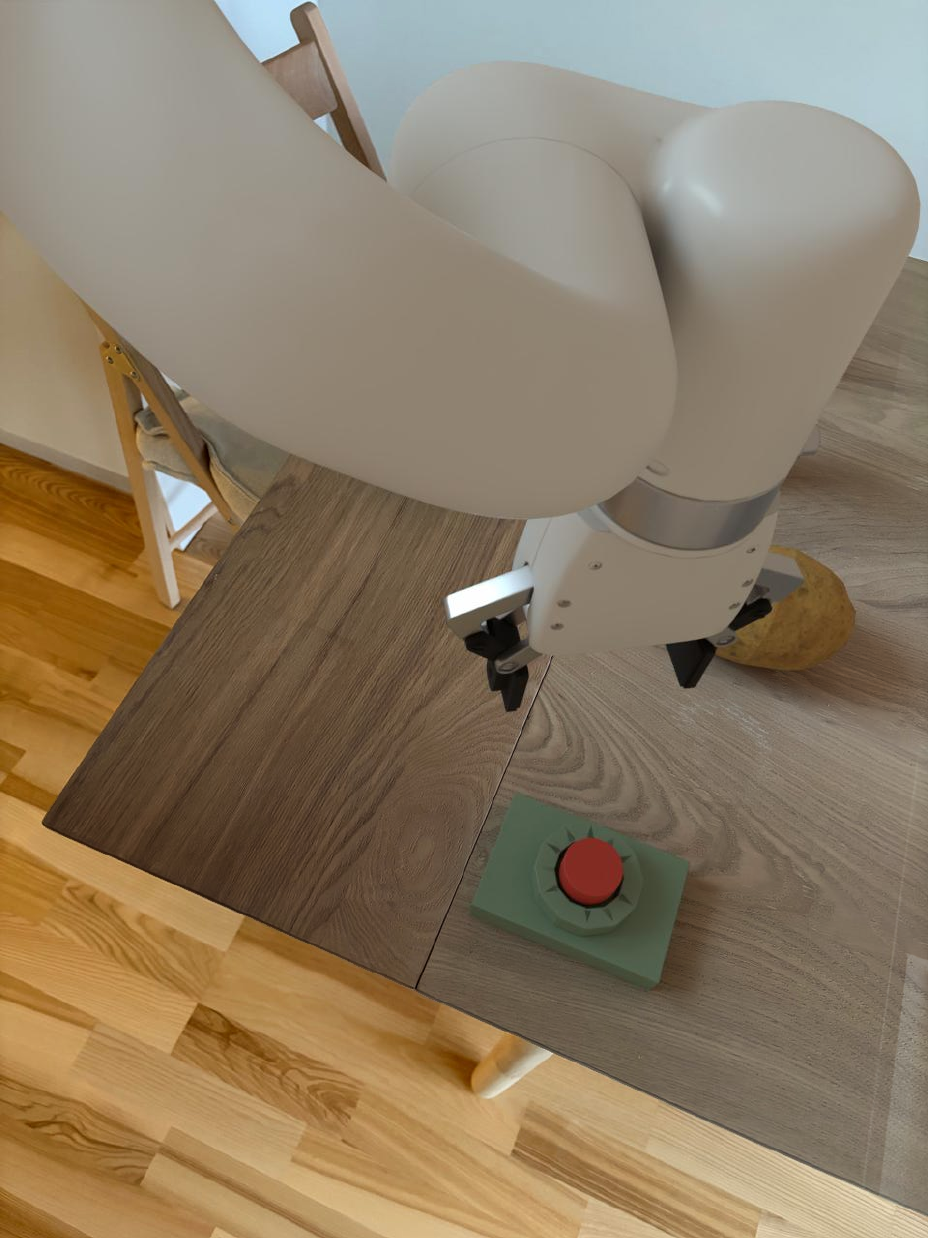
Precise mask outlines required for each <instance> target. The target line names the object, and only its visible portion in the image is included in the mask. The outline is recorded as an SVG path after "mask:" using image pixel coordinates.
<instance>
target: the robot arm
mask: <svg viewBox="0 0 928 1238" xmlns="http://www.w3.org/2000/svg"><path fill="white" fill-rule="evenodd" d="M386 174H387V175H386V180H384V179H383V178H382V177H380V176H379V175H378V174H376V173H375V172H374V171H372V170H371V169H370V168H369V167H368V166H366V165H364V164H363V163H361V161H360V160H358V159H357V158H356V157H355V156H354V155H352V153H350V152H349V151H348V150H347V149H345V147H343V146H342V145H341V144H340V143H339V142H338V141H337V140H336V139H334V138H333V137H332V136H331V135H330V134H329V133H328V132H326V130H325V129H323V128H322V127H321V126H320V125H319V124H318V123H317V122H316V121H315V120H314V119H312V117H311V116H310V115H309V114H308V113H307V112H306V111H305V109H303V108H302V107H301V106H300V105H299V103H297V102H296V101H295V99H293V97H292V96H291V95H290V94H289V93H288V92H287V91H286V90H285V89H284V88H283V87H282V86H281V85H280V84H279V82H277V80H275V78H274V77H273V76H272V75H271V74H270V72H269V71H268V70H267V69H266V67H264V65H263V64H262V62H260V60H259V59H258V58H257V57H256V55H255V54H254V52H253V51H252V50H251V49H250V48H249V47H248V45H247V44H246V43H245V41H244V40H243V39H242V38H241V37H240V35H239V34H238V32H237V31H236V30H235V28H234V27H233V25H232V23H231V22H230V21H229V19H228V18H227V17H226V15H225V13H224V12H223V11H222V9H221V8H220V6H219V4H218V3H217V2H216V1H215V0H0V212H1V213H2V214H3V216H5V217H6V218H7V220H8V221H9V223H10V224H11V225H12V226H13V227H14V229H16V231H17V232H18V233H19V234H20V235H21V237H22V238H23V239H24V240H25V241H26V243H27V244H28V245H29V246H30V247H31V248H32V250H33V251H34V252H35V253H36V254H37V255H38V257H40V258H41V259H42V261H43V262H44V263H45V264H46V265H47V266H48V267H49V268H50V269H51V270H52V271H53V273H54V274H55V275H56V276H57V277H58V278H59V279H60V280H61V281H62V282H63V283H64V284H65V285H66V286H67V287H68V288H70V290H71V291H73V292H74V293H75V294H76V295H77V296H78V297H79V298H80V299H81V300H82V301H83V302H84V303H85V304H86V305H87V306H88V307H89V308H91V309H92V310H93V311H94V312H95V314H96V315H98V316H99V317H100V318H101V319H102V320H103V321H104V322H106V323H107V324H108V325H109V326H110V327H111V328H113V330H114V331H116V332H117V333H118V335H120V336H121V337H122V338H123V339H124V340H125V341H127V343H129V345H130V346H131V347H133V348H134V349H135V350H136V351H137V352H138V353H139V354H140V355H142V357H144V358H145V359H146V360H147V361H148V362H149V363H150V364H151V365H152V366H154V367H155V368H156V369H157V370H158V371H160V372H161V373H162V374H163V375H164V376H166V377H167V378H168V379H169V380H171V381H172V382H173V383H174V384H175V385H176V386H178V387H179V388H180V389H182V390H183V391H184V392H185V393H186V394H188V395H189V396H191V398H194V399H195V400H196V401H198V402H199V403H200V404H201V405H204V407H206V408H207V409H209V410H210V411H211V412H213V413H214V414H216V415H217V416H218V417H220V418H222V420H225V421H227V422H229V423H230V424H232V425H234V426H235V427H237V428H239V429H240V430H242V431H244V433H247V434H248V435H250V436H251V437H254V438H256V439H258V440H260V441H262V442H264V443H267V444H268V445H270V446H273V447H275V448H277V449H279V450H281V451H284V452H285V453H287V454H291V455H294V456H295V457H297V458H298V457H299V458H301V459H304V460H306V461H308V462H310V463H313V464H316V465H318V466H321V467H324V468H327V469H329V470H332V471H334V472H337V473H340V474H343V475H345V476H348V477H350V478H353V479H356V480H358V481H361V482H363V483H367V484H370V485H372V486H375V487H376V488H379V489H383V490H385V491H387V492H391V493H394V494H397V495H400V496H403V497H407V498H409V499H412V500H416V501H418V502H421V503H424V504H429V505H432V506H435V507H440V508H443V509H446V510H450V511H454V512H458V513H463V514H468V515H474V516H479V517H486V518H491V519H501V520H502V519H503V520H504V519H505V520H525V521H526V522H525V525H524V527H523V529H522V533H521V536H520V539H519V542H518V545H517V548H516V551H515V555H514V558H513V562H512V566H511V570H509V571H508V572H505V573H503V574H500V575H497V576H494V577H492V578H490V579H488V580H485V581H481V582H480V583H477V584H474V585H472V586H469V587H467V588H464V589H461V590H459V591H456V592H454V593H451V594H449V595H447V596H445V597H443V599H442V603H441V604H442V608H443V612H444V616H445V622H446V625H447V627H448V628H449V629H450V630H451V631H452V633H454V635H455V636H456V637H457V638H458V639H459V640H462V641H463V642H464V645H465V649H466V650H467V651H468V652H470V653H473V654H475V655H477V656H479V657H482V658H484V659H486V676H487V681H488V686H489V689H490V691H491V692H499V691H500V694H501V697H502V698H501V699H502V702H503V707H504V710H505V713H510V712H517V710H518V709H520V708H521V706H522V702H523V699H524V695H525V692H526V689H527V686H528V681H529V677H530V673H529V666H528V664H530V663H532V662H533V661H534V660H537V659H538V658H539V657H541V656H543V655H546V656H552V657H564V656H566V657H567V656H576V655H577V656H578V655H585V654H586V655H587V654H595V653H596V654H597V653H604V652H612V651H613V652H614V651H620V650H621V651H622V650H630V649H638V648H645V647H653V646H661V645H665V647H666V650H667V651H666V652H667V653H668V656H669V659H670V663H671V665H672V667H673V670H674V673H675V676H676V679H677V682H678V685H679V687H681V688H683V689H684V690H686V689H687V690H688V689H695V688H696V687H697V685H698V684H699V682H700V680H701V678H702V677H703V675H704V674H705V671H706V670H707V669H708V667H709V665H710V663H711V662H712V660H713V659H714V657H715V656H716V655H715V653H716V650H717V648H718V647H726V646H729V645H731V644H733V643H734V642H735V641H736V640H737V638H738V637H737V635H736V632H735V631H737V630H739V629H741V628H742V627H744V626H746V625H748V624H750V623H752V622H754V621H756V620H758V619H762V618H764V617H765V616H766V615H768V614H769V613H770V612H771V611H772V606H771V604H772V603H774V602H779V601H781V600H782V599H783V598H785V597H786V596H788V595H789V594H790V593H792V592H793V591H794V590H796V589H797V588H799V587H800V586H801V585H802V584H803V583H804V582H805V580H804V578H803V575H802V573H801V571H800V569H799V567H798V564H797V562H796V560H795V559H794V558H791V557H788V556H784V555H781V554H777V553H774V552H770V551H768V550H769V547H770V545H772V541H773V537H774V533H775V530H776V526H777V522H778V517H779V512H780V504H781V488H782V486H783V484H784V483H785V481H786V479H787V477H788V476H789V473H790V471H791V469H792V468H793V466H794V464H795V463H796V461H797V460H799V459H800V457H809V456H814V455H816V454H817V453H818V451H819V449H820V445H821V432H820V428H819V427H818V425H817V423H818V421H819V419H820V417H821V415H822V413H823V412H824V411H825V408H826V406H827V405H828V403H829V401H830V400H831V398H832V396H833V394H834V393H835V390H836V389H837V387H838V385H839V383H840V381H841V380H842V378H843V376H844V374H845V372H846V370H847V369H848V367H849V365H850V364H851V361H852V360H853V358H854V357H855V354H856V353H857V351H858V349H859V347H860V346H861V344H862V342H863V340H864V339H865V336H866V334H867V333H868V331H869V329H871V326H872V324H873V322H874V321H875V319H876V317H877V316H878V314H879V311H880V310H881V308H882V307H883V305H884V303H885V301H886V299H887V298H888V296H889V294H890V293H891V290H892V289H893V287H894V285H895V283H896V282H897V279H898V278H899V276H900V274H901V272H902V270H903V268H904V266H905V264H906V262H907V260H908V258H909V255H910V253H911V252H912V249H913V247H914V245H915V242H916V240H917V235H918V232H919V228H920V220H921V219H920V218H921V205H922V204H921V199H920V193H919V188H918V185H917V180H916V178H915V176H914V174H913V172H912V171H911V168H910V167H909V165H908V164H907V163H906V161H905V159H904V158H903V157H902V156H901V154H899V152H898V151H897V149H896V148H895V147H894V146H893V145H891V144H890V143H889V142H888V141H887V140H886V139H884V138H883V137H882V136H880V134H878V133H877V132H875V131H873V130H872V129H870V127H868V126H866V125H864V124H862V123H860V122H858V121H856V120H854V119H852V118H851V117H847V116H845V115H843V114H841V113H838V112H835V111H832V110H829V109H826V108H823V107H819V106H816V105H811V104H807V103H802V102H796V101H788V100H772V99H771V100H770V99H763V100H752V101H751V100H750V101H744V102H740V103H735V104H731V105H727V106H723V107H722V106H721V107H711V106H707V105H702V104H696V103H691V102H687V101H682V100H678V99H675V98H672V97H671V98H670V97H667V96H663V95H659V94H655V93H652V92H648V91H644V90H640V89H637V88H634V87H630V86H626V85H622V84H619V83H616V82H613V81H608V80H605V79H603V78H598V77H595V76H591V75H589V74H585V73H582V72H578V71H574V70H569V69H566V68H562V67H558V66H552V65H549V64H542V63H537V62H530V61H515V60H495V61H487V62H480V63H476V64H471V65H467V66H464V67H461V68H459V69H456V70H454V71H451V72H450V73H448V74H445V75H444V76H442V77H440V78H438V79H437V80H435V81H434V82H433V83H431V84H430V85H429V86H428V87H427V88H425V89H424V90H423V91H422V92H421V93H420V94H419V95H418V96H417V97H416V98H415V99H414V101H413V102H412V103H411V104H410V105H409V107H408V109H407V110H406V112H405V113H404V115H403V117H402V119H401V120H400V122H399V124H398V126H397V129H396V132H395V134H394V137H393V139H392V143H391V147H390V152H389V157H388V163H387V173H386ZM524 622H526V630H527V633H528V636H526V637H525V638H523V639H522V640H521V636H520V632H519V628H518V626H519V625H520V624H522V623H524Z"/></svg>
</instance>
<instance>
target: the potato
mask: <svg viewBox="0 0 928 1238" xmlns="http://www.w3.org/2000/svg"><path fill="white" fill-rule="evenodd" d="M768 551H770V552H774V553H777V554H781V555H784V556H788V557H791V558H794V559H795V560H796V562H797V564H798V567H799V569H800V571H801V573H802V575H803V578H804V580H805V582H804V583H803V584H802V585H801V586H800V587H799V588H797V589H796V590H794V591H793V592H792V593H790V594H789V595H788V596H786V597H785V598H783V599H782V600H781V601H779V602H774V603H772V604H771V606H772V611H771V612H770V613H769V614H768V615H766V616H765V617H764V618H762V619H758V620H756V621H754V622H752V623H750V624H748V625H746V626H744V627H742V628H741V629H739V630H737V631H735V632H736V635H737V637H738V638H737V640H736V641H735V642H734V643H733V644H731V645H729V646H726V647H718V648H717V650H716V653H715V655H714V656H717V657H719V658H722V659H724V660H727V661H730V662H733V663H735V664H739V665H746V666H752V667H757V668H766V669H772V670H779V671H802V670H805V669H809V668H813V667H816V666H818V665H820V664H823V663H824V662H826V661H827V660H829V659H830V658H831V657H833V656H835V655H836V654H837V653H839V652H841V650H842V649H843V648H844V647H845V646H846V644H847V643H848V641H849V639H850V636H851V634H852V632H853V630H854V627H855V625H856V616H857V615H856V614H857V611H856V609H855V608H854V605H853V604H852V602H851V599H850V597H849V595H848V592H847V589H846V586H845V583H844V581H842V580H841V578H840V577H839V576H838V575H837V574H836V573H835V572H834V571H833V570H832V569H831V568H830V567H828V566H826V565H824V564H823V563H821V562H820V561H818V559H815V558H814V557H812V556H810V555H808V554H806V553H805V552H803V551H801V550H799V549H798V548H795V547H788V546H783V545H777V544H770V547H769V550H768Z"/></svg>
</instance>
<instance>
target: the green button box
mask: <svg viewBox="0 0 928 1238" xmlns="http://www.w3.org/2000/svg"><path fill="white" fill-rule="evenodd" d="M584 838H596V839H600V840H603V841H605V842H607V843H608V844H610V845H611V846H612V847H613V848H614V849H615V850H616V851H617V853H618V854H619V856H620V858H621V861H622V865H623V876H622V880H621V882H620V884H619V886H618V887H617V889H616V890H615V891H614V893H613V894H612V895H611V896H610V897H609V898H608V899H607V900H606V901H604V902H602V903H599V904H595V905H587V904H582V903H579V902H577V901H575V900H574V899H572V898H571V897H570V896H569V895H568V894H567V893H566V892H565V890H564V889H563V887H562V885H561V882H560V878H559V867H560V864H561V861H562V859H563V857H564V856H565V854H566V852H567V850H568V849H569V847H570V846H571V845H572V844H573V843H575V842H576V841H578V840H581V839H584ZM690 865H691V861H689V860H687V859H685V858H682V857H679V856H677V855H675V854H672V853H669V852H667V851H664V850H662V849H660V848H657V847H655V846H652V845H649V844H648V843H645V842H642V841H640V840H637V839H635V838H632V837H630V836H627V835H625V834H623V833H619V832H618V831H616V830H613V829H611V828H609V827H606V826H604V825H601V824H599V823H596V822H593V821H590V820H587V819H584V818H582V817H579V816H578V815H574V814H572V813H569V812H567V811H565V810H562V809H560V808H557V807H554V806H552V805H549V804H547V803H544V802H542V801H539V800H538V799H534V798H532V797H529V796H528V795H525V794H522V793H519V792H517V791H515V792H514V793H513V795H512V798H511V801H510V803H509V806H508V808H507V811H506V813H505V817H504V818H503V822H502V824H501V827H500V829H499V832H498V835H497V837H496V840H495V842H494V845H493V847H492V849H491V853H490V855H489V858H488V860H487V863H486V865H485V868H484V871H483V873H482V875H481V878H480V881H479V883H478V885H477V889H476V891H475V894H474V897H473V898H472V901H471V905H470V907H469V911H468V913H467V914H468V916H471V917H473V918H475V919H476V918H477V919H478V920H481V921H483V922H485V923H488V924H490V925H492V926H494V927H497V928H499V929H502V930H504V931H507V932H509V933H512V934H514V935H516V936H518V937H521V938H524V939H526V940H528V941H531V942H533V943H536V944H538V945H540V946H542V947H545V948H547V949H549V950H551V951H554V952H556V953H559V954H561V955H564V956H567V957H569V958H571V959H574V960H576V961H578V962H581V963H583V964H585V965H587V966H590V967H592V968H595V969H597V970H600V971H602V972H604V973H607V974H609V975H611V976H613V977H616V978H619V979H621V980H623V981H626V982H629V983H631V984H632V985H635V986H638V987H641V988H642V989H645V990H647V991H651V990H653V988H655V987H656V986H657V985H658V984H659V983H660V980H661V976H662V972H663V970H664V966H665V961H666V957H667V955H668V950H669V946H670V942H671V939H672V936H673V931H674V927H675V923H676V920H677V915H678V912H679V908H680V904H681V900H682V896H683V892H684V889H685V885H686V881H687V877H688V874H689V869H690Z"/></svg>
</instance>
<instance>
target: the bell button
mask: <svg viewBox="0 0 928 1238" xmlns="http://www.w3.org/2000/svg"><path fill="white" fill-rule="evenodd" d="M622 876H623V865H622V861H621V858H620V856H619V854H618V853H617V851H616V850H615V849H614V848H613V847H612V846H611V845H610V844H608V843H607V842H605V841H603V840H600V839H596V838H584V839H581V840H578V841H576V842H575V843H573V844H572V845H571V846H570V847H569V849H568V850H567V852H566V854H565V856H564V857H563V859H562V861H561V864H560V867H559V878H560V882H561V885H562V887H563V889H564V890H565V892H566V893H567V894H568V895H569V896H570V897H571V898H572V899H574V900H575V901H577V902H579V903H582V904H587V905H595V904H599V903H602V902H604V901H606V900H607V899H608V898H609V897H610V896H611V895H612V894H613V893H614V891H615V890H616V889H617V887H618V886H619V884H620V882H621V880H622Z"/></svg>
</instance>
